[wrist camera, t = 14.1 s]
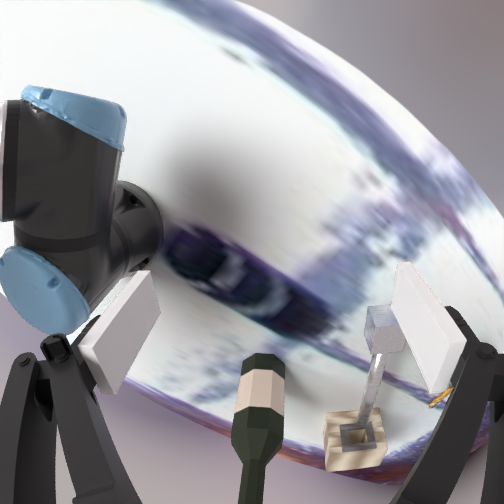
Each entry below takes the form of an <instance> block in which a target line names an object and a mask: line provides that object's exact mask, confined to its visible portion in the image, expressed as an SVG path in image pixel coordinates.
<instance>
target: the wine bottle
mask: <svg viewBox="0 0 504 504" xmlns="http://www.w3.org/2000/svg"><path fill="white" fill-rule="evenodd" d="M284 386H285V364H284V363H283V362H282V361H281V360H280V359H278V358H277V357H276V356H275V355H274V354H261V353H255V354H253V355H252V356H250V357H249V358H247V359H245V360H244V361H243V364H242V371H241V377H240V383H239V389H238V395H237V401H236V407H235V413H234V419H233V425H232V431H231V442H232V446H233V447H234V449H235V451H236V453H237V454H238V456H239V458H240V460H241V461H242V463H243V470H242V477H241V484H240V492H239V499H238V504H262V503H263V490H264V479H265V467H266V465H267V464H268V463H269V461H270V460H271V459H272V458H273V457H274V456H275V455H276V453H277V452H278V451H279V450H280V449H281V447H282V442H283V433H284Z"/></svg>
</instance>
